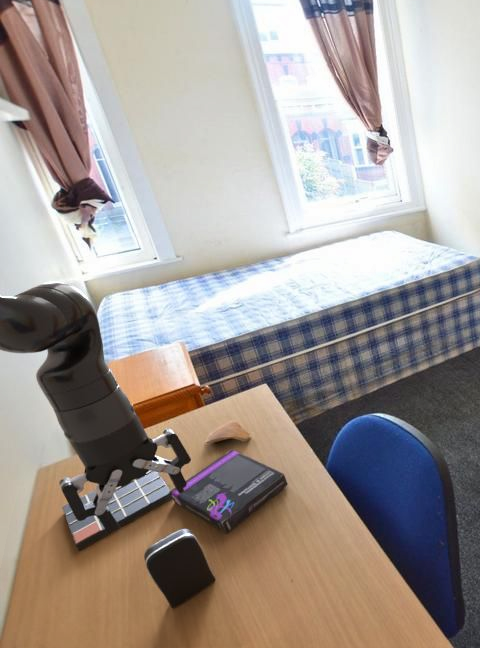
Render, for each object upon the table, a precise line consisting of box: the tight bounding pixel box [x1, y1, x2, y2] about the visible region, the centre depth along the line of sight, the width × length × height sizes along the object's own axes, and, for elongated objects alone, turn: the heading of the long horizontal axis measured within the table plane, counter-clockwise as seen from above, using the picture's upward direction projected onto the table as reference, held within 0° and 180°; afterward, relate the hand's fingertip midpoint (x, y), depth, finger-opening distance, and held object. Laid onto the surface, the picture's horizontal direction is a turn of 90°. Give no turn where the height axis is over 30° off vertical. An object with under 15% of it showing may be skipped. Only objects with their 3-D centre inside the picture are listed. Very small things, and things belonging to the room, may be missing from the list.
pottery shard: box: [205, 420, 252, 445], centre depth 117 cm, size 10×9×2 cm
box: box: [169, 449, 288, 535], centre depth 98 cm, size 14×4×20 cm
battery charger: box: [144, 528, 216, 609], centre depth 77 cm, size 7×4×11 cm, turn 136°
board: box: [61, 470, 173, 551], centre depth 99 cm, size 16×16×2 cm
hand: (149, 508), depth 72 cm, fingers open, 8 cm apart
